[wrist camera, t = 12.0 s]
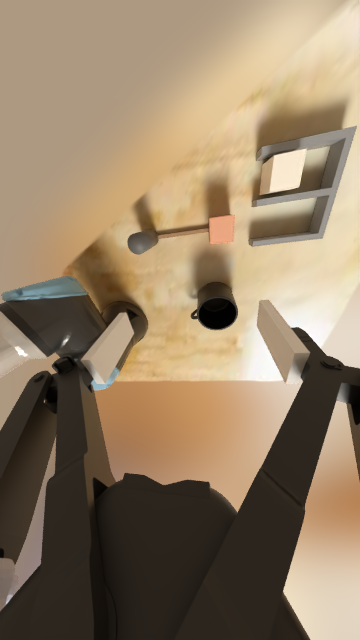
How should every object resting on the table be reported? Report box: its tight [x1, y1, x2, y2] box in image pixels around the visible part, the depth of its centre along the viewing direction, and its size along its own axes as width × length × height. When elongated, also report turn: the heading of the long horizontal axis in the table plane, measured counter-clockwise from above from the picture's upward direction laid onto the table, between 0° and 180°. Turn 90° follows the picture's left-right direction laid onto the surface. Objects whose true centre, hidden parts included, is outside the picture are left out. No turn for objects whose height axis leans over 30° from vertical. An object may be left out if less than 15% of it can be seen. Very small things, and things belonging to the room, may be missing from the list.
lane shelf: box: [249, 126, 357, 247], centre depth 30 cm, size 13×15×4 cm
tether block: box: [128, 215, 235, 254], centre depth 33 cm, size 20×4×10 cm, turn 98°
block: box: [259, 149, 307, 195], centre depth 28 cm, size 4×4×6 cm
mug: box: [191, 282, 238, 330], centre depth 42 cm, size 9×12×9 cm
